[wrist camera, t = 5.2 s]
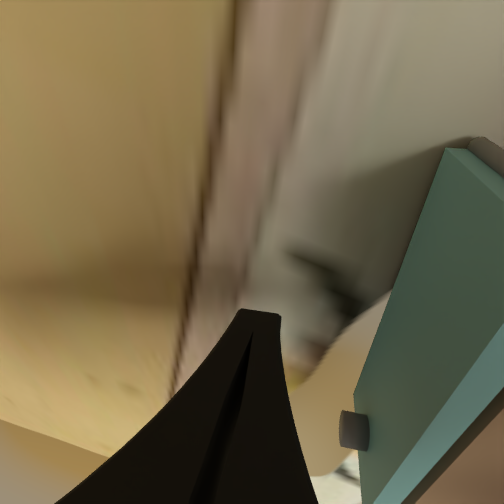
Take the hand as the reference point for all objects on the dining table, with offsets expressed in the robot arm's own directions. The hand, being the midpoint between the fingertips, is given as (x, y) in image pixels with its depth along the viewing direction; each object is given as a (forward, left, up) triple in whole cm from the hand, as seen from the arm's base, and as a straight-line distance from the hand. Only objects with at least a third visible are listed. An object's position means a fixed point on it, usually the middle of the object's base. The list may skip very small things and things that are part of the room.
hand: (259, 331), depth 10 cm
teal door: (-5, +1, -3) cm, 6 cm away
